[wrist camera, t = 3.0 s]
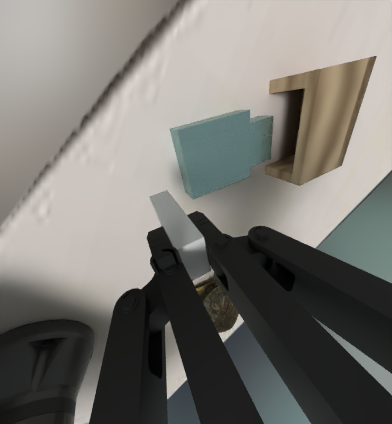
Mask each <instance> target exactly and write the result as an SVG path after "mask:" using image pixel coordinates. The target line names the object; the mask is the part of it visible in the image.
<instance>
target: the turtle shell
mask: <svg viewBox="0 0 392 424" xmlns="http://www.w3.org/2000/svg"><path fill="white" fill-rule="evenodd" d="M196 290H197V292H198V294H199V296H200V298H201V300H202V302H203V304H204V306H205V308H206V310H207V312H208V314H209V316H210V318H211V320H212V322H213V324H214V326H215V328H216V330H217V332H218V333H220V332H225V331H227V330H229V329H231V328H232V327H233V325H234V324H235V322H236V320H237V317H238V314H239V312H238V311H237V309H236V308H235V306H234V305H233V303H232V302H231V300H230V299H229V297H228V296H227V294H226V293H225V291H224V289H223V288H222V286H221V285H220V283H219V286H218V285H217V283H216V282H214V281H213V282H210V283H208V284H206V285H204V286H201V287H198V288H196Z"/></svg>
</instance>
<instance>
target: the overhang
mask: <svg viewBox="0 0 392 424" xmlns="http://www.w3.org/2000/svg"><path fill="white" fill-rule="evenodd" d="M375 60H376V56H374V57H370V58H365V59H361V60H357V61H353V62H348V63H344V64H340V65H335V66H331V67H327V68H322V69H318V70H314V71H310V72H305V73H301V74H297V75H292V76H288V77H284V78H280V79H275V80H271V81H270V91H269V94H270V93H277V92H283V91H289V90H296V89H302V88H304V89H303V93H302V100H301V107H300V113H299V117H301V119H300V126H299V129H298V130H297V134H296V141H295V148H294V152H295V155H292V156H290V157H287V158H285V159H282V160H280V161H277V162H275V163H272V164H270V165H267V166H266V170H265V174H267V175H270V176H273V177H276V178H279V179H282V180H284V181H287V182H290V183H293V184H296V185H299V186H300V185H302V184H304V183H306V182H308V181H310V180H313V179H315V178H317V177H319V176H321V175H323V174H325V173H327V172H329V171H331V170H333V169H336V168H338V167H340V166H342V163H343V160H344V157H345V154H346V150H347V147H348V144H349V141H350V138H351V135H352V132H353V129H354V125H355V122H356V119H357V116H358V113H359V110H360V107H361V103H362V100H363V97H364V94H365V91H366V88H367V85H368V82H369V78H370V75H371V72H372V69H373V66H374V63H375Z"/></svg>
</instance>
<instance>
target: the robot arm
mask: <svg viewBox="0 0 392 424" xmlns="http://www.w3.org/2000/svg"><path fill="white" fill-rule="evenodd" d="M150 200H151V202H152V205H153V207H154V210H155V212H156V215H157V217H158V220H159V222H160V224H161V226H162V227H159V228H157V229H155V230H152V231H150V232H148V236H147V240H148V244H149V247H150V250H151V254H152V257H151V259H150V264H151V266H152V268H153V270H154V272H155V274H154V277H153V278H152V280H151V281H150V282H149V283H148V284H147V285H146V286H144V287H143V288H142V289H138V288H136V289H131V290H129V291H127V292H125V293H124V294H123V295H122V296H121V297H120V298H119V299H118V301H117V302H116V305H115V307H114V311H113V315H112V320H111V325H110V329H109V334H108V339H107V343H106V348H105V352H104V357H103V362H102V366H101V371H100V376H99V380H98V385H97V389H96V394H95V399H94V403H93V408H92V413H91V417H90V422H89V424H168V418H167V384H166V353H165V325H166V324H167V323H168V322H169V321H170V322H171V326H172V329H173V332H174V336H175V339H176V343H177V346H178V349H179V353H180V356H181V359H182V363H183V366H184V369H185V373H186V376H187V379H188V383H189V386H190V389H191V393H192V396H193V400H194V403H195V406H196V410H197V413H198V416H199V420H200V423H201V424H264V423H263V421H262V419H261V417H260V415H259V413H258V411H257V409H256V407H255V405H254V403H253V401H252V399H251V397H250V395H249V393H248V391H247V389H246V387H245V385H244V383H243V381H242V380H241V378H240V375H239V373H238V371H237V369H236V367H235V366H234V363H233V361H232V359H231V357H230V356H229V354H228V351H227V350H226V347H225V346H224V344H223V342H222V340H221V338H220V336H219V334H218V332H217V330H216V328H215V326H214V324H213V322H212V320H211V318H210V316H209V314H208V312H207V310H206V308H205V306H204V304H203V302H202V300H201V298H200V296H199V294H198V292H197V290H196V288H195V286H194V284H193V282H192V281H193V280H195V279H196V278H198V277H200V276H202V275H204V274H206V273H208V272H209V271H211V267H212V269H213V270H214V273H215V278H216V283H217V285H218V286H219V283H220V285H221V286H222V288H223V289H224V291H225V293H226V294H227V296H228V297H229V299H230V300H231V302H232V303H233V305H234V306H235V308H236V309H237V311H238V312H239V314H240V315H241V317H242V318H243V320H244V322H245V323H246V324H247V326H248V328H249V329H250V331H251V332H252V334H253V335H254V337H255V338H256V340H257V341H258V343H259V344H260V346H261V348H262V349H263V350H264V352H265V354H266V355H267V357H268V358H269V360H270V361H271V363H272V364H273V366H274V367H275V369H276V370H277V372H278V373H279V375H280V376H281V378H282V380H283V381H284V383H285V384H286V386H287V387H288V389H289V390H290V392H291V393H292V395H293V396H294V398H295V399H296V401H297V403H298V404H299V406H300V407H301V409H302V410H303V412H304V413H305V415H306V416H307V418H308V419H309V421H310V422H311V424H392V395H391V394H390V393H389V392H388V391H387V390H386V389H385V388H384V387H383V386H381V384H380V383H378V381H376V379H375V378H374V377H373V376H372V375H370V374H369V373H368V372H367V371H366V370H365V369H364V368H363V367H362V366H361V365H360V364H359V363H358V362H357V361H356V360H355V359H354V358H353V357H352V356H351V355H350V354H349V353H348V352H347V351H346V350H345V349H344V348H343V347H342V346H341V345H340V344H339V343H338V342H337V341H336V340H335V339H334V338H333V337H332V336H331V335H330V334H329V333H328V332H327V331H326V330H325V329H324V328H323V327H322V326H321V325H320V324H319V323H318V322H317V321H316V320H315V319H314V318H316V319H317V320H319V321H320V322H321V323H323V324H324V325H325V326H327V327H328V328H329V329H331V330H332V331H334V332H335V333H336V334H338V335H339V336H341V337H342V338H343V339H345V340H346V341H347V342H349V343H350V344H352V345H353V346H355V347H356V348H357V349H359V350H360V351H361V352H363V353H364V354H365V355H367V356H368V357H370V358H371V359H373V360H374V361H375V362H377V363H378V364H379V365H381V366H382V367H384V368H385V369H386V370H388V371H389V372H390V373H392V283H389V282H387V281H385V280H383V279H381V278H378V277H376V276H374V275H372V274H370V273H368V272H365V271H363V270H361V269H359V268H356V267H354V266H352V265H350V264H348V263H346V262H343V261H341V260H339V259H337V258H335V257H332V256H330V255H328V254H326V253H323V252H321V251H319V250H317V249H315V248H313V247H310V246H308V245H306V244H304V243H302V242H300V241H297V240H295V239H293V238H291V237H289V236H286V235H284V234H282V233H280V232H278V231H275V230H273V229H271V228H269V227H265V226H256V227H253V228H251V229H250V230H249V232H248V235H247V236H242V237H235V238H233V237H231V236H229V235H227V234H222V233H221V232H220V231H219V230H218V229H217V228H216V227H215V225H214V224H213V223H212V222H211V221H210V220H209V219H208V218H207V217H206V216H205V215H204V214H203V213H201V212H198V211H196V212H194V213H191V214H189V215H186V214H185V212H184V211H183V210H182V208H181V207H180V206H179V205H178V203H177V202H176V201H175V200H174V198H173V197H172V196H171V194H170V193H169V192H168V191H167V190H166V191H164V192H161V193H158V194H155V195H153V196H150ZM210 266H211V267H210ZM312 316H313V317H314V318H313V317H312ZM93 346H94V333H93V331H92V330H91V329H90V328H89V327H88V326H87V325H85V324H82V323H79V322H75V321H67V320H55V321H45V322H39V323H34V324H30V325H26V326H23V327H20V328H17V329H14V330H11V331H9V332H6V333H4V334H2V335H0V424H74V416H75V407H76V399H77V395H78V392H79V390H80V387H81V384H82V381H83V378H84V376H85V373H86V370H87V367H88V364H89V361H90V359H91V356H92V353H93Z"/></svg>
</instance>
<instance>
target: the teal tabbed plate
mask: <svg viewBox="0 0 392 424" xmlns="http://www.w3.org/2000/svg"><path fill="white" fill-rule="evenodd" d="M272 129H273V116H257V117H254V118H250V110H241V111H233V112H230V113H226V114H222V115H219V116H215V117H211V118H208V119H204V120H200V121H197V122H193V123H190V124H186V125H182V126H179V127H175V128H171V129H170V132H171V136H172V140H173V144H174V148H175V152H176V156H177V160H178V164H179V168H180V172H181V175H182V179H183V183H184V187H185V191H186V193H187V194H188V195H189V196H190V197H191V198H192V199H196V198H198V197H200V196H203V195H205V194H208V193H210V192H213V191H215V190H218V189H220V188H223V187H225V186H227V185H230V184H232V183H235V182H237V181H240V180H242V179H245V178H247V177H249V176H250V167H252V166H254V165H257V164H259V163H262V162H264V161H267V160H269V159H271V144H272Z"/></svg>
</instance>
